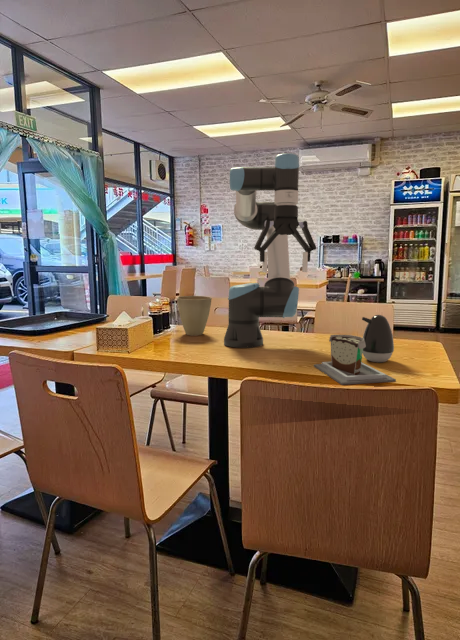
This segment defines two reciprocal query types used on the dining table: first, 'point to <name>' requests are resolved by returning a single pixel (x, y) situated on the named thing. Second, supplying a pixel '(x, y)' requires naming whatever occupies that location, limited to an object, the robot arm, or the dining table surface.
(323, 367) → the mat
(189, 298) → the plant pot
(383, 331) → the pump dispenser
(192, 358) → the dining table surface
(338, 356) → the food container
